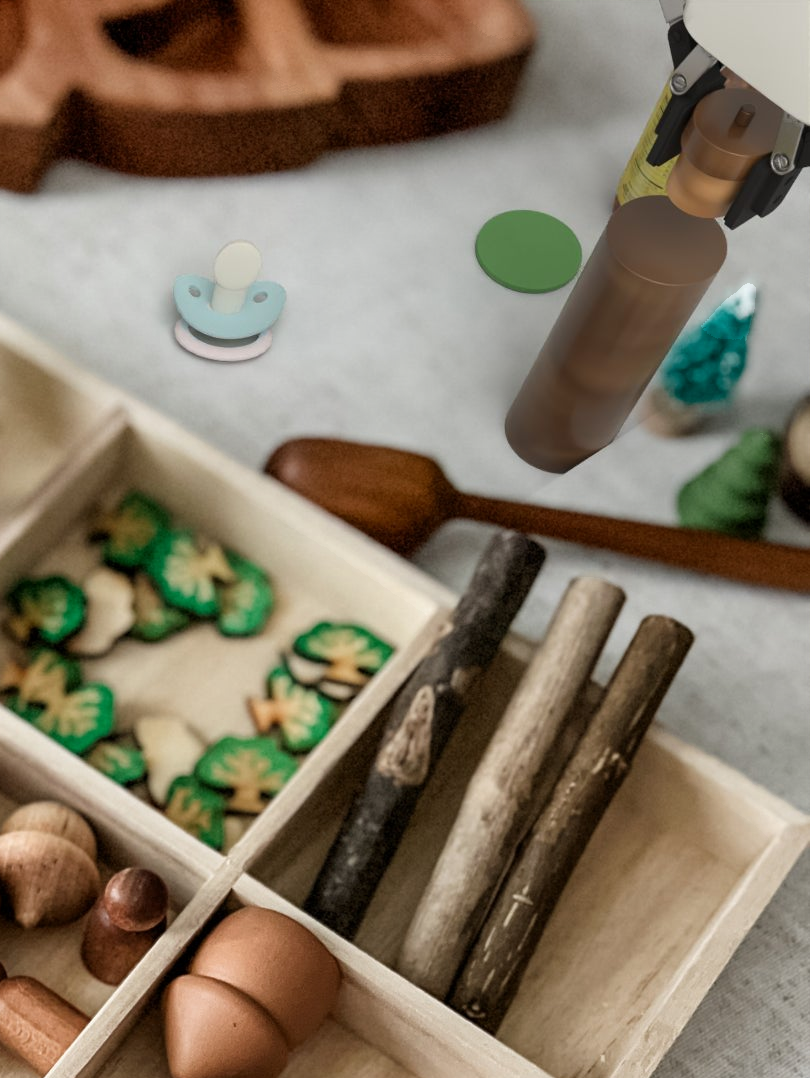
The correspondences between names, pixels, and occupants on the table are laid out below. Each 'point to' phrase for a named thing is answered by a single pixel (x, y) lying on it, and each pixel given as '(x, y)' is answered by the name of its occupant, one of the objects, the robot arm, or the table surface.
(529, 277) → the coaster
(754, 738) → the table surface
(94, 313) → the table surface
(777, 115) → the stemmed brown cap
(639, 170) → the sauce bottle
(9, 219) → the table surface
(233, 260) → the pacifier
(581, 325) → the brown cylinder
